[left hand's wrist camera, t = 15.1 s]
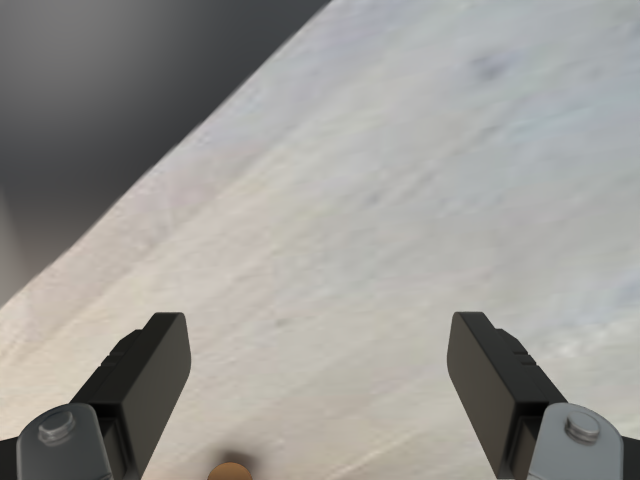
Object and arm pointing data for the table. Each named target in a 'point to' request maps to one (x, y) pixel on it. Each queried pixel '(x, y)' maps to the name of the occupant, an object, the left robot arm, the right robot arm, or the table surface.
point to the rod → (229, 472)
